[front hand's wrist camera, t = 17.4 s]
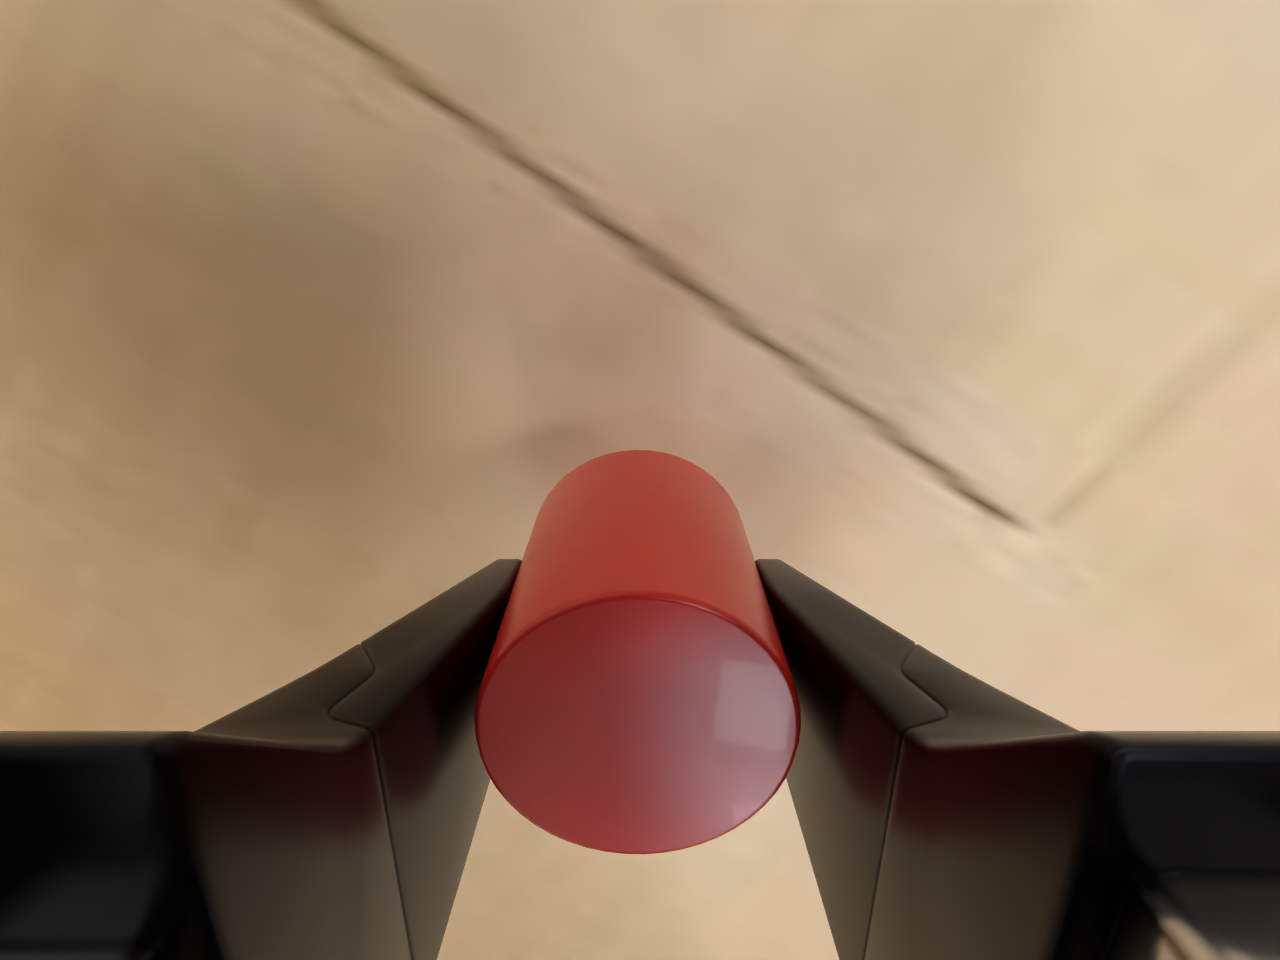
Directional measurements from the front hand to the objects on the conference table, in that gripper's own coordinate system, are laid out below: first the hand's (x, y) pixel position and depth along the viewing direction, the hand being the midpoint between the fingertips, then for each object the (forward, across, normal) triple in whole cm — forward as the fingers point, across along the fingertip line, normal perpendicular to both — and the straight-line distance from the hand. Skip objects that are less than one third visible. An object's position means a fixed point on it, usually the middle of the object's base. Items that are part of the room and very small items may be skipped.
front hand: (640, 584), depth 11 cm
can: (+1, 0, 0) cm, 1 cm away
